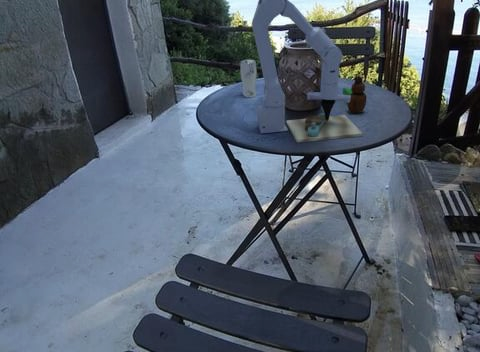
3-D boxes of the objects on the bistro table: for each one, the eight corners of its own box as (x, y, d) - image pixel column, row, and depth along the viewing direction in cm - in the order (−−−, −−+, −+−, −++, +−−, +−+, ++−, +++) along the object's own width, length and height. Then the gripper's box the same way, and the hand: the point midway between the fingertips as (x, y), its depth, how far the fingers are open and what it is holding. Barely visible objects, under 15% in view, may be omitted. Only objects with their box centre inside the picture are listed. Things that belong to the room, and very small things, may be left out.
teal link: (317, 137, 121) (317, 125, 119) (306, 135, 122) (306, 124, 120) (328, 119, 133) (328, 108, 131) (318, 118, 135) (318, 107, 132)
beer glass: (239, 97, 164) (237, 63, 156) (244, 92, 169) (242, 59, 162) (255, 98, 162) (253, 63, 154) (259, 93, 167) (257, 59, 160)
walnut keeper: (320, 132, 125) (321, 121, 123) (304, 130, 127) (305, 119, 125) (323, 127, 128) (324, 116, 126) (308, 125, 130) (308, 115, 128)
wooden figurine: (351, 115, 138) (355, 75, 130) (343, 110, 143) (347, 71, 135) (367, 113, 139) (372, 73, 132) (359, 108, 144) (363, 69, 137)
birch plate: (297, 142, 121) (297, 139, 120) (286, 123, 136) (286, 120, 135) (362, 136, 122) (362, 133, 122) (344, 117, 137) (344, 115, 136)
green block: (360, 106, 146) (361, 95, 144) (350, 107, 146) (352, 96, 144) (351, 97, 156) (352, 86, 154) (342, 98, 156) (343, 87, 153)
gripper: (353, 80, 125) (349, 117, 132) (311, 77, 131) (310, 113, 137) (350, 86, 120) (346, 125, 126) (306, 83, 125) (305, 120, 132)
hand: (327, 119), depth 132 cm, fingers closed
